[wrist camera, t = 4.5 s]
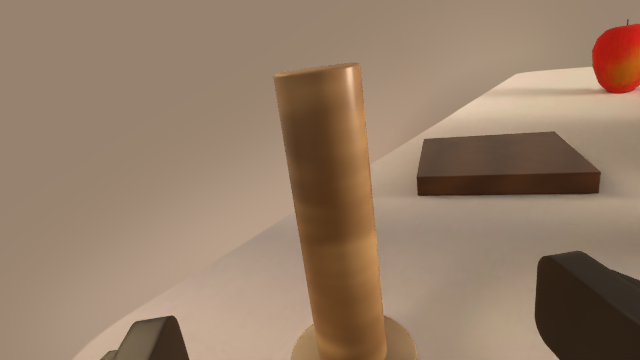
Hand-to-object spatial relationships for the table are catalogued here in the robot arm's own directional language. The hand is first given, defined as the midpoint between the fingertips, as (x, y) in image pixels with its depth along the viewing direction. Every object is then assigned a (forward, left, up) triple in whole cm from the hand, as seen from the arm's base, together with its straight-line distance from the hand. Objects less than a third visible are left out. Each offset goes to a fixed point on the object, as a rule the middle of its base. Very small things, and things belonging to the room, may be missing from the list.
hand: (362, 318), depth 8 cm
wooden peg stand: (-2, +4, -8) cm, 9 cm away
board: (+6, +33, -8) cm, 35 cm away
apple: (+31, +74, -8) cm, 81 cm away
